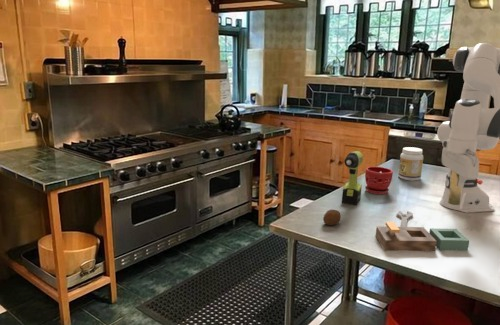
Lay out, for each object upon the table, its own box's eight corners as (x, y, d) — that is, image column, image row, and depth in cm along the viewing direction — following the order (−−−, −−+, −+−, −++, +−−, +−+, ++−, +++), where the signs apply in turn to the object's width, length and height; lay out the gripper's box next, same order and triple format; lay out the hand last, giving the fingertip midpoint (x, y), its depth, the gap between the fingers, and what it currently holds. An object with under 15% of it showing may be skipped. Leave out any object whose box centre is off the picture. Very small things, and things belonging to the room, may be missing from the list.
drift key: (392, 237, 155) (393, 222, 153) (398, 245, 148) (399, 229, 146) (384, 236, 155) (385, 221, 153) (389, 245, 148) (391, 229, 146)
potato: (343, 221, 171) (344, 207, 169) (335, 229, 163) (336, 215, 161) (328, 218, 174) (329, 204, 173) (320, 226, 166) (320, 212, 165)
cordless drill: (352, 213, 180) (356, 158, 173) (336, 210, 183) (339, 156, 176) (361, 197, 200) (365, 147, 194) (347, 195, 203) (350, 146, 196)
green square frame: (455, 238, 156) (456, 228, 155) (467, 250, 146) (469, 240, 145) (428, 238, 156) (430, 228, 155) (439, 250, 146) (441, 240, 145)
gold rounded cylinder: (456, 201, 149) (461, 169, 146) (461, 205, 145) (466, 172, 142) (445, 201, 149) (450, 169, 146) (450, 204, 145) (455, 172, 142)
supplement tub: (394, 175, 237) (397, 146, 233) (414, 174, 238) (417, 146, 234) (404, 181, 225) (407, 151, 221) (424, 180, 227) (428, 151, 222)
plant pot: (387, 197, 200) (390, 174, 197) (361, 193, 206) (362, 170, 203) (393, 190, 211) (395, 168, 208) (367, 186, 217) (369, 164, 214)
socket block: (422, 236, 157) (423, 227, 156) (435, 251, 145) (436, 241, 144) (375, 235, 158) (376, 226, 156) (384, 250, 146) (385, 240, 145)
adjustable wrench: (405, 238, 157) (406, 234, 157) (388, 234, 160) (388, 230, 159) (413, 215, 178) (413, 212, 178) (397, 213, 181) (398, 209, 181)
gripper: (487, 153, 131) (480, 194, 135) (457, 140, 151) (452, 176, 155) (467, 153, 131) (461, 193, 135) (440, 140, 151) (435, 176, 155)
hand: (456, 184), depth 145 cm, fingers closed on gold rounded cylinder, 4 cm apart
